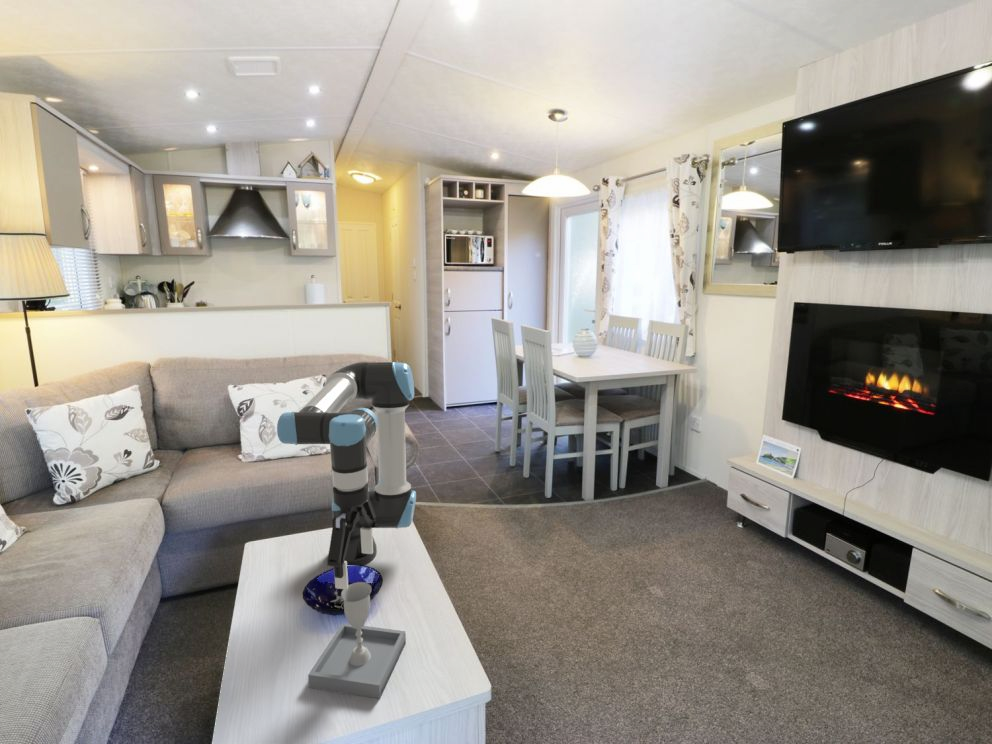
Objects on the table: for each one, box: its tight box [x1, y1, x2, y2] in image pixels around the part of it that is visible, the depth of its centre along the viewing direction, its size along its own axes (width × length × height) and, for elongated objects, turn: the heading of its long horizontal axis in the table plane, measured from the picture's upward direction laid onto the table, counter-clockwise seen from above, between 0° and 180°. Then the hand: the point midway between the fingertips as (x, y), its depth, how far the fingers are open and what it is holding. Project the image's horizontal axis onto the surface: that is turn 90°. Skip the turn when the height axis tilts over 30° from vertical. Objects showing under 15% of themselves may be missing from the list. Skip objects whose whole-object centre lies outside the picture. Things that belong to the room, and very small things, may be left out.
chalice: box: [340, 581, 373, 666], centre depth 119 cm, size 7×7×18 cm
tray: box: [307, 622, 407, 700], centre depth 121 cm, size 17×17×4 cm
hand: (355, 569), depth 116 cm, fingers open, 13 cm apart
